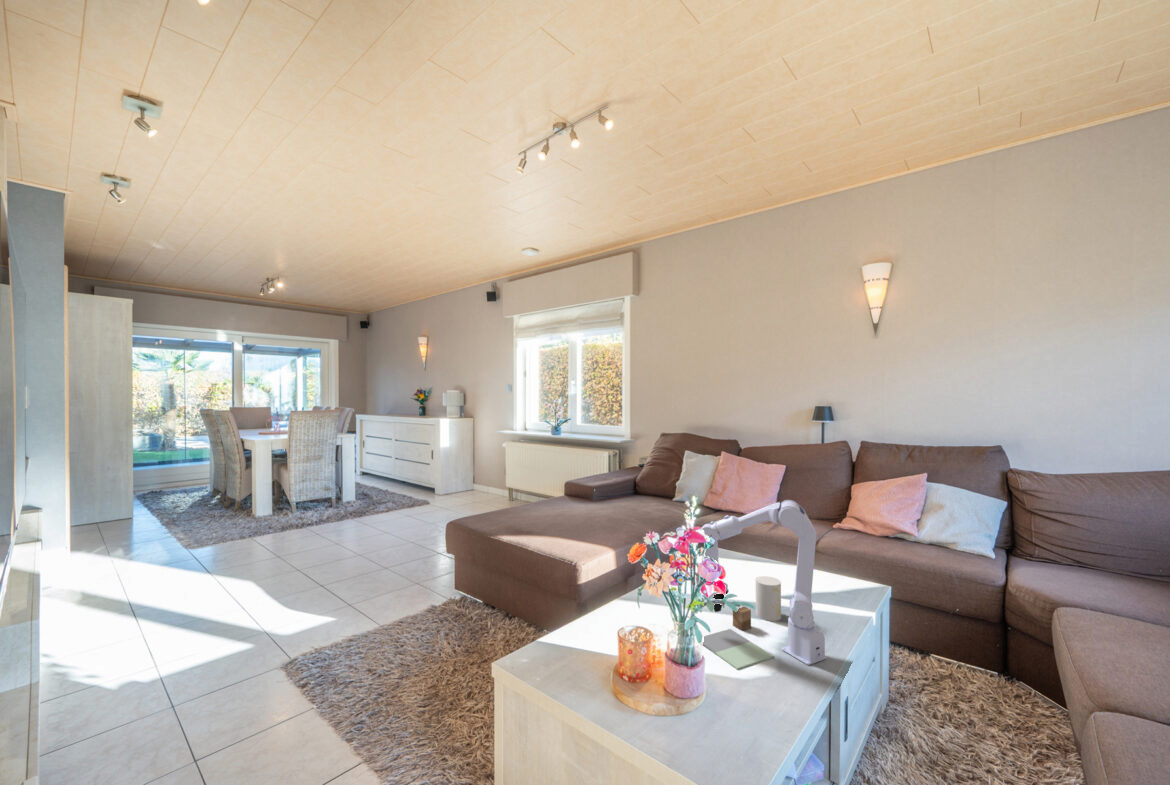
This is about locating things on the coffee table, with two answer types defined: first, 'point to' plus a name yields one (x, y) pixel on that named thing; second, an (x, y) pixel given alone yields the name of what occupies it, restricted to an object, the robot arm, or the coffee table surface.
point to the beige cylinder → (768, 598)
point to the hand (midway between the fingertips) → (709, 606)
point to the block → (742, 618)
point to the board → (735, 649)
